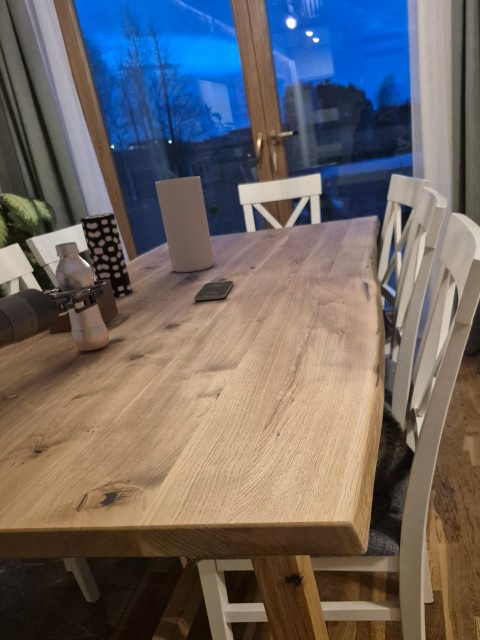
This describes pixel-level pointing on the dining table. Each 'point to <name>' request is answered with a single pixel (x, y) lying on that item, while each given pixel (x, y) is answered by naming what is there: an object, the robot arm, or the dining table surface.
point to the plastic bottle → (79, 276)
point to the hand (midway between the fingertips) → (87, 289)
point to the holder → (104, 304)
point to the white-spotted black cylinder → (107, 252)
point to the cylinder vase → (185, 223)
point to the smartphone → (214, 290)
